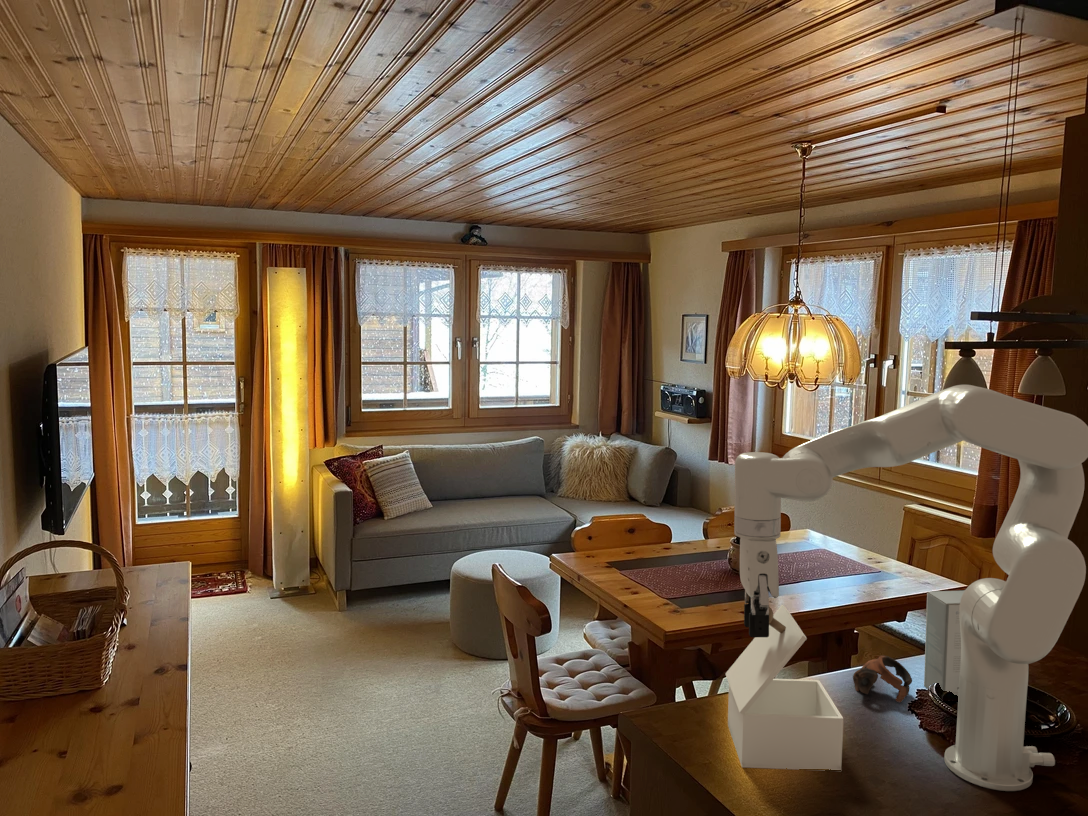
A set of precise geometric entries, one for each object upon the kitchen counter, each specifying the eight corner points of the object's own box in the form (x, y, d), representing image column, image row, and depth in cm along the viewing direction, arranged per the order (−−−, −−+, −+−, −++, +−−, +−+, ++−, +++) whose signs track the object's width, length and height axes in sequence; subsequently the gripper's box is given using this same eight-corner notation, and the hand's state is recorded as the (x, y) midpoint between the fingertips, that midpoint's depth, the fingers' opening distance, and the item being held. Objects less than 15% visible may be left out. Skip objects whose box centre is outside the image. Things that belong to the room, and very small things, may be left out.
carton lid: (785, 607, 141) (754, 583, 141) (806, 638, 126) (772, 612, 126) (728, 676, 143) (697, 653, 143) (743, 715, 128) (709, 689, 128)
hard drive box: (996, 684, 160) (1002, 589, 158) (1020, 702, 152) (1027, 602, 150) (921, 685, 160) (926, 589, 158) (941, 703, 152) (947, 603, 150)
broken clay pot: (869, 679, 163) (893, 651, 160) (901, 717, 156) (926, 688, 153) (831, 677, 157) (855, 648, 154) (863, 716, 150) (888, 686, 147)
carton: (817, 727, 142) (819, 680, 141) (841, 771, 128) (843, 718, 128) (727, 724, 143) (729, 677, 142) (741, 767, 130) (743, 715, 129)
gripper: (792, 539, 124) (790, 651, 126) (769, 514, 140) (768, 614, 142) (743, 539, 124) (742, 651, 126) (726, 514, 141) (726, 614, 143)
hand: (756, 630), depth 134 cm, fingers closed on carton lid, 3 cm apart
